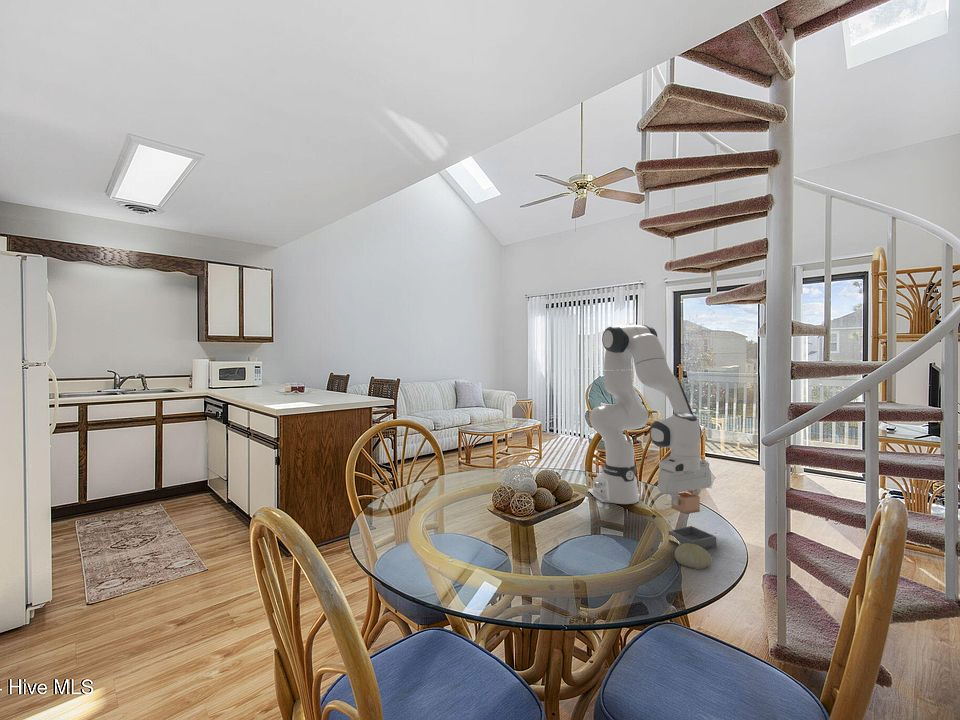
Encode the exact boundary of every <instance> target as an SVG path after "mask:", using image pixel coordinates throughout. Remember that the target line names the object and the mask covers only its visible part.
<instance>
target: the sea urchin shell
mask: <svg viewBox="0 0 960 720" xmlns="http://www.w3.org/2000/svg"><path fill="white" fill-rule="evenodd" d="M674 558H675V560H676V562H677V563H678V564H680V565H683V566H685V567H688V568H691V569H697V570H700V569H701V570H702V569H705V568H708V567H709V566H710V565H711V564H712V562H713V561H712V559H713V558H712V556H711V554H710V552H708V551H707V550H706V549H703V548H702V547H700V546H698V545H695V544H689V543H684V544H680V545H678V546H677V547H675V551H674Z"/></svg>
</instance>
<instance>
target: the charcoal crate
mask: <svg viewBox="0 0 960 720" xmlns="http://www.w3.org/2000/svg"><path fill="white" fill-rule="evenodd" d="M669 535H672V536H674V537H675V538H676V539H677V540H678V541H679V542H680V543H681V544H684V543H689V544H695V545H698V546H700V547H702V548H703V549H705V550H706V549H707V550H708V549H711V548H717V536H716V535H713V534H711V533H708V532H706V531H704V530H702V529H699V528H697V527H695V526H692V525H690V526H684V527H680V528H674V529H670V530H668V536H669Z"/></svg>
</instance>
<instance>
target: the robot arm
mask: <svg viewBox="0 0 960 720" xmlns="http://www.w3.org/2000/svg"><path fill="white" fill-rule="evenodd" d="M601 342H602V345H603V347H604V349H605V353H604V358H603V359H604V361H603V382H604V383H603V384H604V385H603V386H604V390H605V391H606V392H607V393H608V394H610V395H612V397H613V398H614V402H615V403H610V404H602V405H598V406H596V407H594V408H592V410H591V411H590V414H589V422H590V425H591V426H592V428H593V429H594V430H595V431H596V432H598V434H599V435H600V436H601V438H602V440H603V443H604V447H605V449H604V450H605V463H601V464H602V468H603V470H602V472H601V473H600V474H598V476H596V477H595V478H594V479H593V483H592V485H593V487H591V488H588V489H587V492H588V491H589V492H590V493H591V494H592V495H593V496H592V495H591V494H590V493H589V494H590V495H591V496H592V497H594V498H595V499H597V500H598V501H599V502H602V503H611V504H619V505H631V504H637V503H638V502H640V497H641V494H640V493H639V489H638V479H637V477H636V475H637V473H636V472H637V468H636V465H635V447H634V445H633V444H632V443H631V442H630V441H629V440H627V439H626V438H625V437H624V431H630V430H631V431H634V430H637V429H640V428H644V427H645V426H646V425H647V424H648V421H649V412H648V410H647V408H646V407H645V406H644V405H643V404H641V403H640V401H639V399H638V398H637V395H636V393H635V390H634V383H633V365H632V361H633V364H634V369H635V373H636V376H637V379H638V380H639V382H641V383H642V384H643V385H645V386H646V387H648V388H651V389H654V390H657V391H659V392H660V393H662V394H664V395H665V396H666V397H667V398H668V401H669V403H670V405H671V408H672V411H673V412H674V413H673V414H672V415H671V416H670V417H667V418H664V419H659V420H655V421H653V422H652V424H651V425H650V428H649V438H650V440H651V442H652V443H653V445H655V446H656V447H658V448H670V455H668V456H666V458H664V459H662V460H660V461H659V462H658V468H659V471H658V474H657V488H658V491H659V492H661V493H663V494H665V495H670V496H671V500H672V499H673V504H674V505H676V506H678V505H680V504H681V503H680V502H681V500H678V497H677V496H678V493H679V492H685V491H686V492H690V491H692V494H694V495H697V496H699V495H700V494H701V490H702V489H703V490H704V489H709V488H710V487H711V486H712V484H713V483H712V482H713V481H712V473H711V469H710V463H709V462H708V461H707V460H706V459H701V451H700V444H701V438H702V435H703V434H702V433H703V432H702V427H701V426H700V422H699V419H698V417H697V416H696V415H694V413H693V410H692V408H691V405H690V402H689V400H688V398H687V395H686V392H685V390H684V387H683V386H682V383H681V382H680V380H679V378H678V377H677V376H676V375H674V374H673V372H672V370H671V368H670V367H669V365H668V362H667V358H666V354H665V351H664V349H663V346H662V344H661V342H660V340H659V338H658V333H657V330H656V329H655V328H654V327H652V326H649V325H645V324H644V325H643V324H642V325H641V324H626V325H612V326H608V327H607V328H605V329H604V332H603V333H602V337H601ZM632 359H633V360H632ZM699 497H700V496H699Z"/></svg>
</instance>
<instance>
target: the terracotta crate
mask: <svg viewBox="0 0 960 720" xmlns="http://www.w3.org/2000/svg"><path fill="white" fill-rule="evenodd" d="M677 497H678V500H681V502H680V503H681V504H680V505H678V506H676V505H674V504H673V499H672V498H671V509H673V510H675V511H676V512H677V511H678V512H680V513H682V514H684V515H689V514H695V513H699V512H700V511H701V507H700V506H701V503H700V502H701V499H700V498H701V497H700V496H697V495H694V494H693V493H691V492H690V491H685V492H679V493H678V496H677Z"/></svg>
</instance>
